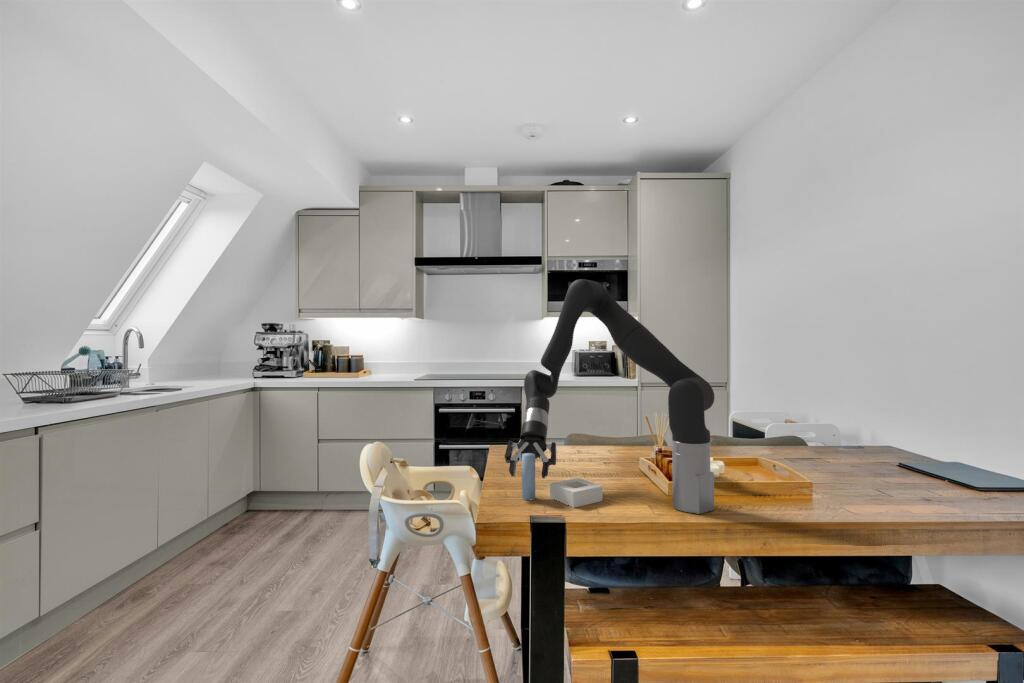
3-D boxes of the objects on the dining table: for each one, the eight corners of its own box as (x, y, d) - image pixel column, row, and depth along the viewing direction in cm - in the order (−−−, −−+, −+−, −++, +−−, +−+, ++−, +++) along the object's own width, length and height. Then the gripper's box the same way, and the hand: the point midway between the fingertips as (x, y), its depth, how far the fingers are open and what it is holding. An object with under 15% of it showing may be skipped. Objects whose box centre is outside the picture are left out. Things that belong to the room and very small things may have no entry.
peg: (537, 498, 142) (537, 454, 142) (527, 501, 140) (526, 456, 140) (530, 495, 145) (530, 452, 145) (519, 497, 143) (519, 454, 143)
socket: (602, 500, 140) (602, 486, 140) (573, 507, 134) (573, 492, 134) (578, 491, 148) (578, 477, 148) (550, 497, 143) (549, 483, 143)
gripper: (509, 418, 152) (500, 467, 141) (557, 419, 149) (552, 469, 138) (513, 433, 157) (504, 481, 146) (560, 435, 154) (555, 484, 143)
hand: (527, 476), depth 142 cm, fingers open, 8 cm apart
